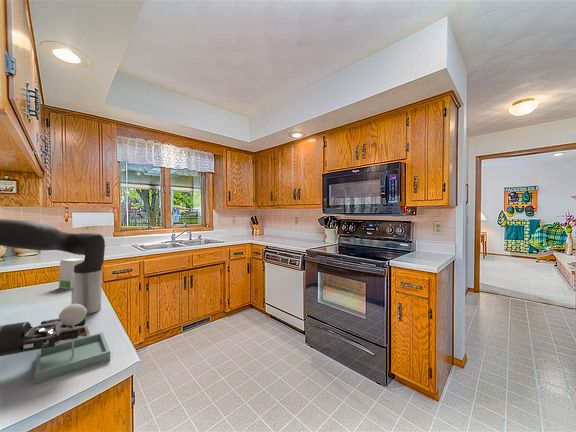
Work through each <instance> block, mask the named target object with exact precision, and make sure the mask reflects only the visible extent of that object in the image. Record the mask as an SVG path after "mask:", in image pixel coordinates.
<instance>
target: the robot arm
mask: <svg viewBox="0 0 576 432" xmlns="http://www.w3.org/2000/svg"><path fill="white" fill-rule="evenodd" d="M0 246H2V247H8V248H16V249H21V250H30V251H60V252H65V253H69V254H74V255H79V256H84V259H83V262H82V263H80V264H77V265H75V266H74V288H73V289H71V304H70V305H72V304H81V305H83V306H84V307H85V308H86V309H87V314H86V315H90V314H93V313H97V312H99V311H100V310H101V309H102V269H103V267H102V266H103V265H104V262H105V261H104V259H105V248H106V242H105V238H104V236H103V235H101V234H100V233H91V232H90V233H89V232H88V233H86V232H77V233H76V232H75V233H74V232H68V231H67V232H65V231H61V230H59V229H58V228H56V227H54V226H51V225H48V224H44V223H40V222H35V221H28V220H18V219H3V218H0ZM84 326H86V317H85V318H84V319H83V321H81V322H80V323H78V324H76V325H74V329H75V330H71V329H72V326H67V325H64V324H62V323H61V321H60V319H59V318H56V319H49V320H47V319H46V320H43V321H41V322H40V324H39V325H37V326H34V327H33V326H32V325H31V323H30V322H29V321H24V322H23V321H22V322H17V323H8V324H2V325H0V357H5V356H10V355H15V354H20V353H24V352H30V351H37V349H43V348H48V347H53V346H55V344H56V343H60V342H64V341H68V340H72V339H75V338H79V337H80V334H79V329H76V328H80V327H84ZM67 329H69V331H67ZM60 332H61V334H60Z"/></svg>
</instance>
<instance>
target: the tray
mask: <svg viewBox="0 0 576 432" xmlns="http://www.w3.org/2000/svg"><path fill="white" fill-rule="evenodd" d="M82 337H83V336H82ZM78 338H79V337H78ZM70 340H71V341H68V340H66V341H67V342H64V341H62V342H63V343H60V342H59V344H56V343H55V344H56V345H55V346H53V347H48V348H43V349H37V350H36V359H35V360H36V361H35V369H34V385H37V384H40V383H43V382H46V381H49V380H50V381H51V380H52V379H55V378H58V377H59V378H60V377H61V376H65V375H68V374H71V373H74V372H78V371H81V370H84V369H87V368H90V367H94V366H96V365H99V364H102V363H105V362H108V361H111V350H110V347H109V344H108V342H107V340H106V337H105V335H104V333H103V332H100V333H96V334H90V336H87V337H83V338H79V339H75V340H74V356H73V357H72V339H70Z"/></svg>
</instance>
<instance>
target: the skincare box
mask: <svg viewBox="0 0 576 432" xmlns="http://www.w3.org/2000/svg"><path fill="white" fill-rule="evenodd" d="M59 261H60V263H59V278H58V279H59V282H58V288H59V289H64V290H65V289H66V290H73V289H74V266H75V265H77V264H80V263H82V262H83V261H84V259H83V258H73V257H71V258H65V259H60V260H59Z"/></svg>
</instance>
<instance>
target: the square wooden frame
mask: <svg viewBox="0 0 576 432" xmlns="http://www.w3.org/2000/svg"><path fill="white" fill-rule="evenodd" d="M75 329H79V335H82V334H84V336H83V335H82V336H79V337H78V338H75V339H79V338H83V337H87V336H91V333H90V329H89V327H88V325H84V326H79V327H75V328H74V330H75ZM69 330H72V328H70V329H69ZM69 330H67V329H66V331H69ZM61 332H62V331H60V334H61ZM75 339H74V340H75ZM71 340H72V339H69V340H64V341H60V342H59V343H63V342H67V341H71ZM59 343H55V345H56V344H59Z"/></svg>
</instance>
